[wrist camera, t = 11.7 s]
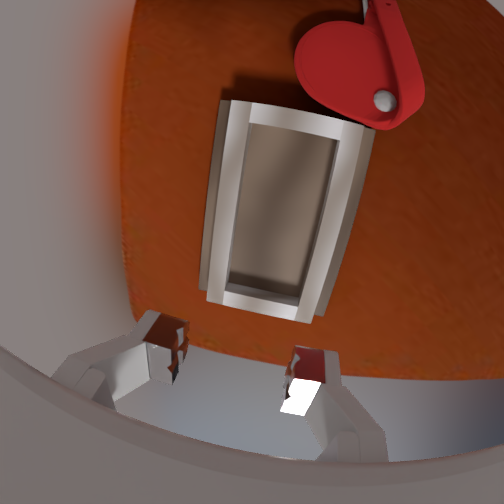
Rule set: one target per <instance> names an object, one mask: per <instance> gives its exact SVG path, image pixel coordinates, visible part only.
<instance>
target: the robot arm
mask: <svg viewBox="0 0 504 504" xmlns="http://www.w3.org/2000/svg"><path fill="white" fill-rule="evenodd" d="M188 331H189V322H188V321H186V320H183V319H180V318H176V317H173V316H170V315H167V314H163V313H159V312H156V311H153V310H148V311H146V312H145V314H144V315H143V316H142V318H141V319H140V320H139V322H138V323H137V324H136V326H135V327H134V328H133V330H132V331H131V332H130V334H129V335H128V336H125V335H123V336H120V337H118V338H115V339H112V340H110V341H107V342H104V343H101V344H99V345H96V346H93V347H90V348H88V349H85V350H83V351H80V352H77V353H74V354H71V355H69V356H68V357H67V358H66V360H65V361H64V362H63V363H62V364H61V366H60V367H59V368H58V369H57V371H56V372H55V373H54V374H53V375H52V377H51V378H50V377H48V376H47V375H45V374H43V373H41V372H40V371H38V370H37V369H35V368H33V367H32V366H30V365H29V364H27V363H26V362H24V361H23V360H21V359H20V358H18V357H17V356H15V355H14V354H13V353H11V352H10V351H8V350H7V349H5V348H4V347H3V346H1V345H0V504H504V444H501V445H497V446H494V447H490V448H486V449H482V450H477V451H473V452H468V453H463V454H457V455H452V456H445V457H439V458H431V459H424V460H413V461H400V462H389V460H388V452H387V445H386V438H385V432H384V431H383V430H382V428H381V427H380V426H379V425H378V424H377V423H376V421H375V420H374V419H373V418H372V417H371V416H370V415H369V413H368V412H367V411H366V410H365V409H364V408H363V406H362V405H361V404H360V403H359V402H358V401H357V399H356V398H355V397H354V396H353V395H352V394H351V393H350V391H349V390H348V389H347V388H346V387H344V386H342V384H341V374H340V365H339V356H338V353H337V352H336V351H329V350H320V349H314V348H308V347H302V346H296V345H295V346H294V348H293V351H292V356H291V361H290V362H288V365H287V368H286V372H285V377H284V383H283V387H284V389H285V390H284V393H283V395H282V401H281V411H282V412H288V413H293V414H299V415H304V417H305V419H306V421H307V423H308V425H309V426H310V428H311V430H312V432H313V434H314V435H315V437H316V439H317V441H318V442H319V444H320V446H321V448H322V449H323V452H322V453H321V454H320V456H319V457H318V458H317V459H316V460H315V461H312V460H302V459H292V458H284V457H277V456H270V455H264V454H258V453H253V452H247V451H242V450H237V449H233V448H228V447H223V446H219V445H215V444H211V443H208V442H204V441H200V440H197V439H193V438H190V437H186V436H183V435H179V434H176V433H173V432H170V431H167V430H164V429H161V428H158V427H155V426H153V425H150V424H147V423H144V422H141V421H139V420H137V419H134V418H132V417H129V416H126V415H124V414H122V413H119V412H117V410H116V408H115V405H114V401H115V400H117V399H119V398H121V397H122V396H124V395H126V394H127V393H129V392H130V391H132V390H134V389H136V388H137V387H139V386H140V385H142V384H144V383H145V382H147V381H148V380H150V379H153V380H157V381H160V382H163V383H166V384H170V385H173V383H174V381H175V379H176V377H177V374H178V373H179V365H181V364H182V363H183V362H184V359H185V357H186V354H187V351H188V345H189V339H188V337H187V336H186V335H187V333H188Z"/></svg>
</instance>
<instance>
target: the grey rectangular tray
mask: <svg viewBox="0 0 504 504" xmlns="http://www.w3.org/2000/svg"><path fill="white" fill-rule="evenodd" d="M375 131H376V130H372V129H369V128H365V127H364V126H363V125H359V124H356V123H352V122H348V121H344V120H340V119H336V118H332V117H328V116H324V115H319V114H315V113H310V112H305V111H300V110H295V109H290V108H285V107H279V106H273V105H266V104H260V103H253V102H245V101H237V100H232V101H226V100H220V106H219V112H218V119H217V125H216V132H215V139H214V146H213V154H212V161H211V169H210V177H209V186H208V194H207V203H206V212H205V222H204V232H203V242H202V253H201V264H200V277H199V289H200V290H204V291H207V301H209V302H213V303H218V304H222V305H226V306H230V307H234V308H239V309H243V310H247V311H252V312H256V313H261V314H266V315H270V316H275V317H280V318H284V319H289V320H294V321H299V322H304V323H311V321H312V318H313V315H319V316H323V315H324V312H325V310H326V307H327V304H328V301H329V298H330V295H331V293H332V290H333V287H334V284H335V281H336V278H337V275H338V272H339V268H340V265H341V262H342V259H343V256H344V253H345V249H346V246H347V243H348V239H349V236H350V232H351V229H352V225H353V222H354V218H355V215H356V211H357V207H358V204H359V200H360V196H361V192H362V188H363V184H364V180H365V176H366V172H367V168H368V163H369V159H370V154H371V150H372V145H373V140H374V136H375Z"/></svg>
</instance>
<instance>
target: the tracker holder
mask: <svg viewBox="0 0 504 504" xmlns="http://www.w3.org/2000/svg"><path fill="white" fill-rule="evenodd" d="M362 1H363V11H364V24H363V25H360V24H358V23H354V22H349V21H330V22H326V23H322V24H320V25H317V26H315V27H313V28H312V29H310V30H309V31H308V32H306V33H305V34H304V35H303V37H302V38H301V39H300V41H299V42H298V44H297V47H296V49H295V54H294V66H295V71H296V75H297V77H298V80H299V82H300V84H301V85H302V87H303V88H304V90H305V91H306V92H307V93H308V94H309V96H311V97H312V98H313V99H314V100H316V101H317V102H319V103H321V104H322V105H324V106H326V107H327V108H329V109H331V110H334V111H336V112H338V113H340V114H342V115H344V116H346V117H349V118H351V119H353V120H356V121H358V122H360V123H363V124H365V125H367V126H370V127H373V128H375V129H381V130H389V129H392V128H394V127H396V126H398V125H399V124H400V123H402V122H403V121H404V120H406V119H407V118H408V117H409V116H411V115H412V114H413V113H415V112H416V111H417V110H418V109H419V108H420V107H421V105H422V103H423V101H424V96H425V85H424V80H423V76H422V72H421V69H420V66H419V63H418V60H417V57H416V54H415V51H414V48H413V45H412V42H411V40H410V37H409V34H408V32H407V29H406V27H405V24H404V22H403V19H402V16H401V13H400V10H399V8H398V5H397V2H396V1H395V0H362Z"/></svg>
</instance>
